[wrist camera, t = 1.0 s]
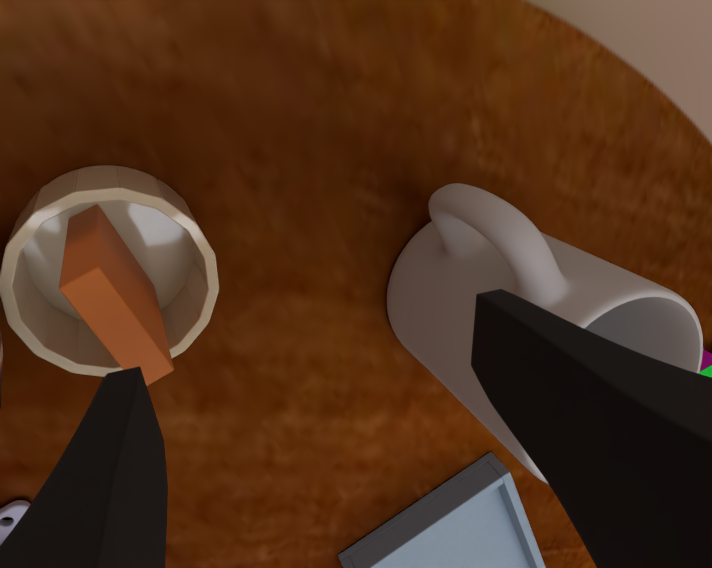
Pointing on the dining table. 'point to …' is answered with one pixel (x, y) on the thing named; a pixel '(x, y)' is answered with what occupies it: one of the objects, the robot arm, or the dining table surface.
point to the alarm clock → (1, 363)
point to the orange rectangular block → (114, 295)
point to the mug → (527, 280)
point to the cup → (143, 238)
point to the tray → (455, 527)
